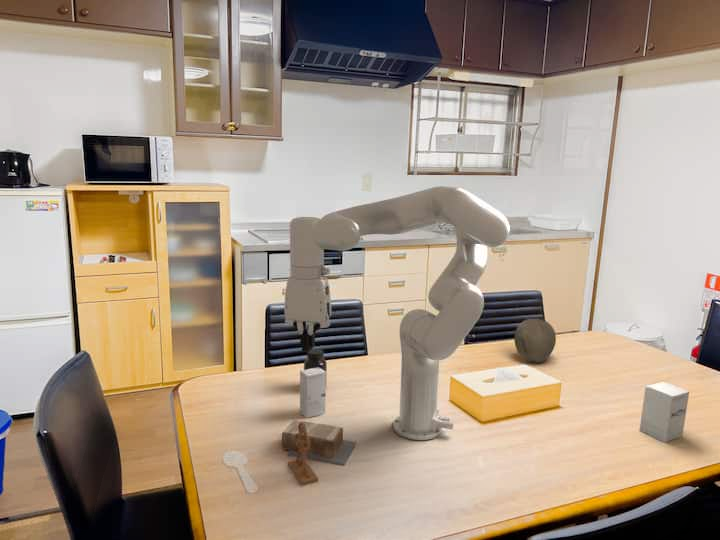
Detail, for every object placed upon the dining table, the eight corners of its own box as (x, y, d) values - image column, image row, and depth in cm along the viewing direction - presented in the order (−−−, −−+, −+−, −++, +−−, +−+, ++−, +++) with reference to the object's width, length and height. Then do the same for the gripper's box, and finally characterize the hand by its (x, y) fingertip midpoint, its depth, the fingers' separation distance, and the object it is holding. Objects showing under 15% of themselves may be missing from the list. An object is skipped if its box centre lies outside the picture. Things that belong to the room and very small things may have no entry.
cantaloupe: (560, 368, 179) (564, 326, 177) (518, 367, 180) (522, 325, 177) (546, 353, 193) (549, 314, 190) (507, 352, 193) (511, 313, 191)
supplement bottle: (299, 390, 157) (299, 353, 155) (310, 382, 164) (310, 346, 161) (320, 395, 155) (320, 356, 153) (330, 386, 161) (330, 349, 159)
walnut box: (293, 434, 131) (342, 443, 128) (281, 448, 124) (333, 458, 121) (293, 418, 130) (343, 426, 127) (281, 432, 124) (333, 441, 120)
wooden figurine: (287, 465, 119) (287, 416, 116) (303, 461, 120) (303, 412, 118) (301, 486, 111) (301, 434, 108) (318, 481, 113) (318, 430, 110)
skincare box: (306, 418, 140) (306, 376, 138) (299, 412, 144) (298, 370, 142) (326, 413, 144) (326, 371, 141) (318, 406, 147) (318, 366, 145)
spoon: (241, 497, 107) (241, 495, 107) (219, 455, 122) (219, 453, 122) (266, 490, 110) (266, 488, 109) (241, 449, 125) (241, 447, 125)
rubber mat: (356, 443, 128) (356, 441, 128) (344, 465, 119) (344, 463, 119) (303, 434, 132) (303, 433, 132) (287, 455, 123) (287, 453, 122)
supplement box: (665, 443, 131) (672, 396, 129) (638, 430, 138) (644, 385, 135) (683, 437, 134) (690, 391, 132) (656, 424, 141) (662, 380, 138)
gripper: (343, 271, 120) (343, 347, 123) (283, 267, 124) (284, 341, 127) (333, 277, 113) (332, 358, 116) (269, 273, 116) (271, 351, 120)
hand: (307, 349), depth 122 cm, fingers closed
